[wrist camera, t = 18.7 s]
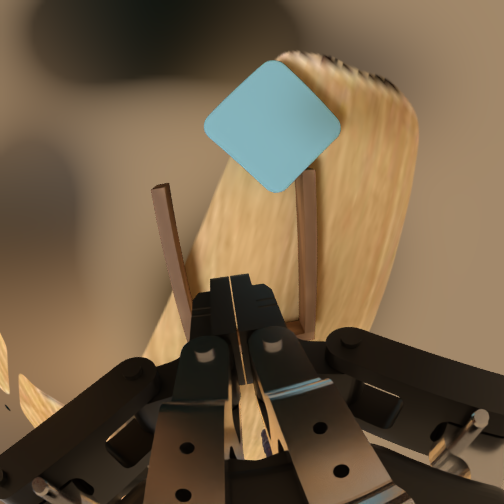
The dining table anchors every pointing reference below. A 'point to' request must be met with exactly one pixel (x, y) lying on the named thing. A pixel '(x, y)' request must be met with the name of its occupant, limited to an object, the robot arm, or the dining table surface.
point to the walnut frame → (306, 254)
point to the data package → (273, 126)
